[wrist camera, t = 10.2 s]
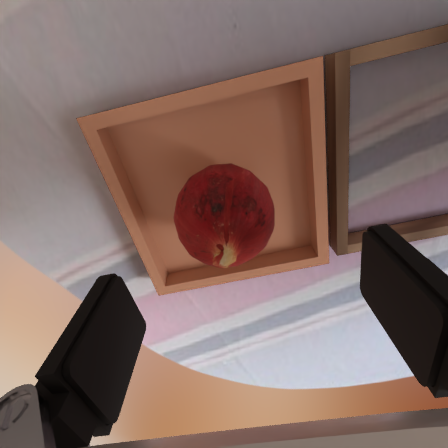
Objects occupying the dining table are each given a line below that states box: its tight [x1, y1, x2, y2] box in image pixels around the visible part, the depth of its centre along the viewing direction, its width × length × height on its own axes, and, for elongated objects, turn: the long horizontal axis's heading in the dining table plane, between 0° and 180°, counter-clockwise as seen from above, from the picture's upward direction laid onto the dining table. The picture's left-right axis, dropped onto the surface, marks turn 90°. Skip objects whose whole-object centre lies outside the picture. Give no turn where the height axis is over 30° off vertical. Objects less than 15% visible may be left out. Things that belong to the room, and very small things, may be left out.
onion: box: [173, 163, 275, 268], centre depth 15 cm, size 6×6×8 cm
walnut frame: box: [325, 24, 448, 256], centre depth 17 cm, size 14×14×2 cm
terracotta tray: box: [76, 56, 329, 295], centre depth 18 cm, size 14×14×2 cm
